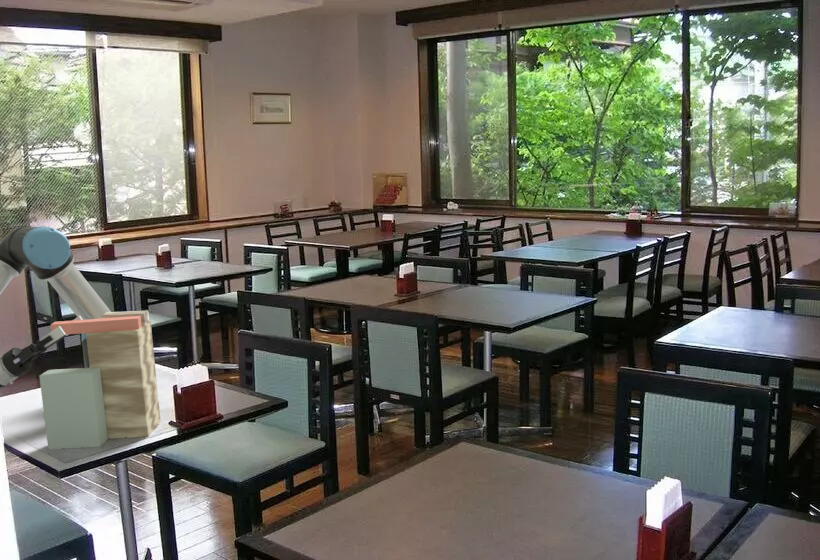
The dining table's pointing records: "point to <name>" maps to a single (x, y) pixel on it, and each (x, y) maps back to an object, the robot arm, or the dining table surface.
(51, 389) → the block
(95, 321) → the stub
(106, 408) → the tall wood-grain block
